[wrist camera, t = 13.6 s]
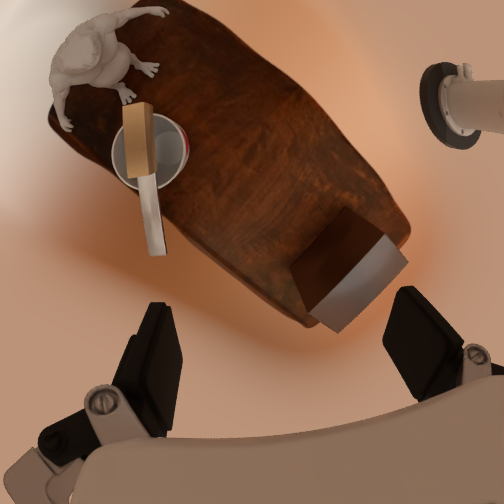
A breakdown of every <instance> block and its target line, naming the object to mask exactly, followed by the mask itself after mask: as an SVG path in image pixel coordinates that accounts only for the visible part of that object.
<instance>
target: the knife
mask: <svg viewBox="0 0 504 504" xmlns="http://www.w3.org/2000/svg"><path fill="white" fill-rule="evenodd" d="M122 108H123V130H124V144H125V156H126V166H127V175H128V178H135V177H137V179H138V187H139V195H140V202H141V209H142V216H143V222H144V228H145V234H146V240H147V245H148V251H149V255H150V256H163V255H167V248H166V242H165V235H164V229H163V222H162V215H161V207H160V199H159V191H158V182H157V162H156V151H155V137H154V119H153V105H151V104H148V103H145V102H140V103H135V104H131V105H126V106H123V107H122Z"/></svg>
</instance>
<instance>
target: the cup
mask: <svg viewBox="0 0 504 504" xmlns="http://www.w3.org/2000/svg"><path fill="white" fill-rule="evenodd" d="M153 119H154V137H155V151H156V162H157V182H158V189H159V188H161V187H163V186H165V185H167V184H168V183H170V182H171V181H172V180H173V179H174V178H175V177H176V176H177V175H178V174H179V172H180V171H181V170H182V169H183V168H184V166H185V164H186V162H187V160H188V156H189V141H188V137H187V135H186V133H185V131H184V130H183V129H182V128H181V127H180V126H179V125H178V124H177V123H175V122H174V121H172V120H170V119H169V118H167V117H165V116H163V115H159V114H154V113H153ZM112 162H113V166H114V169H115V171H116V173H117V175H118V176H119V178H120V179H121V180H122V181H123V182H124V183H125V184H127V185H128V186H130V187H132V188H134V189H137V190H139V187H138V179H137V177H135V178H128V175H127V166H126V156H125V144H124V130H123V126H122V127H121V129H120V130H119V131H118V133H117V135H116V137H115V139H114V142H113V146H112Z"/></svg>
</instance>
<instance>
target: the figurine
mask: <svg viewBox="0 0 504 504" xmlns="http://www.w3.org/2000/svg"><path fill="white" fill-rule="evenodd" d="M164 12H165V13H167V14H169V12H168V11H167V9H164V8H163V7H143V8H129V9H127V10H123V11H119V12H114V13H111V14H101V15H98V16H96V17H94V18H92V19H90V20H88V21H86V22H84V23H82V24H80V25H79V26H77V27H76V28H75V30H74V31H72V32H71V33H70V34H69V36H68V37H67V38H66V40H65V42H64V43H63V44H61V46H60V47H59V49H58V50H57V52H56V54H55V55H54V57H53V60H52V64H51V71H50V76H49V83H50V86H51V87H52V92H53V97H54V102H53V104H54V107H55V109H56V112H57V116H58V119H59V122H60V124H61V126H62V129H64V130H65V131H68V132H71V131H72V130H70V129H68V128H67V127H69V128H73V125H71V124H70V123H69V122H70V121H71V120H68V119H67V117H65V116H64V107H65V100H66V97H67V95H68V93H69V90H70V86H71V85H79V84H86V83H88V84H90V85H92V86H94V87H106V88H111V89H117V90H118V91H119V95H120V98H121V100H122V103H123V105H126V104H127V102H126V99H127V101H128V103H131V102H132V99H131V98H130V96H132V98H136V97H137V95H136V94H134V93H133V92H132V91H131V90H130V89H127V88H126V87H125V83H123V82H121V83H118V82H119V81H120V80H121V79H122V78H123V77H124V76H125V74H126V73H127V71H128V69H129V65H130V64H132V65H134V67H135V69H137V70H138V69H140V70H142V71H143V72H144V73H145V74H146V75H149V76H150V77H151V78H153V77H154V74H153V73H151V71H153V72H155V73H156V72H158V69H157V68H153V67H158V66H159V63H151V62H141V61H139V60H138V58H137V57H136V56H135V54H133V53H131V52H130V50H129V48H128V47H127V46H125V45H124V44H122V43H120V42H117V38H116V35H115V29H116V28H119V27H121V26H123V25H124V24H125V23H126V22H127V20H130V19H132V18H135V17H138V16H140V15H143V14H145V13H149V14H152V15H156V16H158V15H159V16H161V17H162V18H164V17H165V15H164Z"/></svg>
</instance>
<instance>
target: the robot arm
mask: <svg viewBox="0 0 504 504" xmlns="http://www.w3.org/2000/svg"><path fill="white" fill-rule="evenodd" d="M457 71H458V76H456V75H450V76H446V77H444V78H443V79H442V81H441V82H440V85H439V89H438V102H439V107H440V111H441V114H442V116H443V118H444V120H445V122H446V124H447V125H448V127H449V128H450V129H451V130H452V131H453V132H454V133H456V134H458V135H461V136H469V135H471V134H472V133H473V132H474V131H475V130H482V131H489V132H495V133H501V134H504V80H493V81H492V80H491V81H474V79H473V78H472V70H471V65H470V64H466V63H463V66H461V65H457ZM463 71H464V74H463ZM464 76H465V77H464ZM382 341H383V345H384V347H385V349H386V350H387V352H388V354H389V355H390V357H391V359H392V360H393V362H394V364H395V366H396V367H397V369H398V371H399V373H400V374H401V376H402V378H403V379H404V381H405V383H406V385H407V387H408V388H409V390H410V392H411V394H412V396H413V397H414V398H415V399H417V400H418V402H419V403H417V404H414V405H411V406H408V407H405V408H402V409H399V410H396V411H393V412H390V413H386V414H383V415H380V416H376V417H372V418H369V419H365V420H361V421H357V422H353V423H349V424H344V425H340V426H335V427H330V428H324V429H319V430H313V431H306V432H299V433H292V434H284V435H274V436H264V437H248V438H220V439H201V438H200V439H199V438H198V439H197V438H166V436H167V431H171V430H172V425H173V418H174V411H175V405H176V399H177V392H178V387H179V381H180V375H181V369H182V363H183V358H182V352H181V349H180V344H179V341H178V336H177V332H176V328H175V324H174V319H173V315H172V310H171V307H170V306H166V304H165V302H151V303H150V304H149V306H148V309H147V311H146V313H145V316H144V318H143V321H142V323H141V325H140V327H139V330H138V333H137V335H132V336H131V337H130V339H129V341H128V344H127V346H126V349H125V351H124V354H123V356H122V358H121V361H120V363H119V366H118V369H117V371H116V374H115V376H114V379H113V382H112V384H111V385H108V384H106V385H99V386H96V387H95V388H93V389H91V390H90V391H89V392H88V393H87V395H86V397H85V400H84V407H85V408H84V409H82V410H80V411H78V412H77V413H74V414H72V415H71V416H69V417H67V418H64V419H62V420H60V421H58V422H56V423H54V424H52V425H50V426H49V427H46V428H45V429H44V430H43V431H42V432H41V433H40V436H39V438H38V447H37V448H36V449H35V448H33V447H32V448H31V449H30V450H29V451H28V452H26V453H25V454H24V455H23V456H22V457H21V458H20V459H19V460H18V461H17V462H16V463H15V464H13V466H11V467H10V468H9V469H8V470H7V471H6V473H5V474H4V479H3V482H4V486H5V488H6V490H7V492H8V494H9V495H10V496H11V498H12V500H13V501H14V502H15V504H69V497H70V495H71V493H72V492H73V495H72V499H71V504H504V367H503V366H500V365H497V364H494V363H491V358H490V354H489V353H488V351H487V350H486V349H485V348H484V347H482V346H480V345H478V344H468V345H467V346H466V347H465V348H464V349H463V348H462V345H463V343H464V340H463V339H462V338H461V337H460V335H459V334H458V333H457V332H456V331H455V330H454V329H453V327H452V326H450V324H449V323H448V322H447V321H446V320H445V318H443V316H442V315H441V314H440V313H439V312H438V311H437V310H436V309H435V308H434V307H433V305H432V304H431V303H430V302H429V301H428V300H427V299H426V298H425V297H424V296H423V295H422V294H421V293H420V292H419V291H418V290H417V289H416V288H415V287H414V286H404V287H401V288H400V289H399V291H397V293H396V296H395V299H394V303H393V306H392V310H391V313H390V317H389V320H388V323H387V326H386V329H385V332H384V335H383V339H382ZM158 437H164V438H158ZM74 486H75V487H74Z"/></svg>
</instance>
